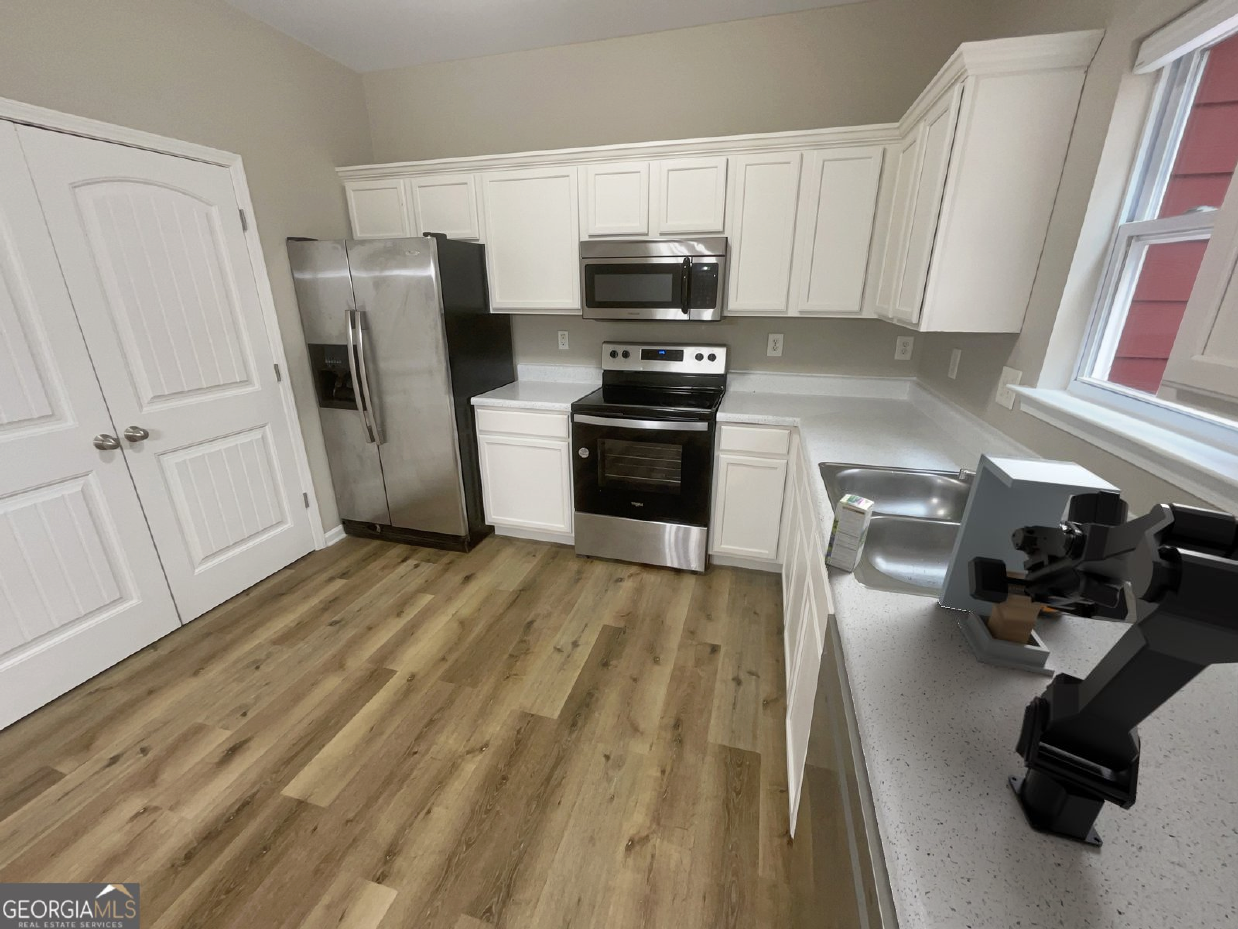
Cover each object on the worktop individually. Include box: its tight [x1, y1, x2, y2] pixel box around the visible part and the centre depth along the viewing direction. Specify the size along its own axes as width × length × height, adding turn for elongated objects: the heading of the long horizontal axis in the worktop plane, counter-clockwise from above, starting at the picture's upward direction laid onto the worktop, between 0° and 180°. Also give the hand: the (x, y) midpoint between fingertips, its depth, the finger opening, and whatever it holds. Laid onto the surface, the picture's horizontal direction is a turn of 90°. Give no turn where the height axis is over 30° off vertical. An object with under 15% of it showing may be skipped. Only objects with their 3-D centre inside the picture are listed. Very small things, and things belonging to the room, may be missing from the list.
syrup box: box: [824, 493, 875, 573], centre depth 103 cm, size 6×6×14 cm
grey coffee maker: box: [937, 452, 1122, 614], centre depth 81 cm, size 12×13×30 cm
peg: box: [986, 571, 1042, 645], centre depth 80 cm, size 4×4×12 cm
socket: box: [957, 610, 1056, 677], centre depth 82 cm, size 10×10×4 cm
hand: (1014, 598), depth 80 cm, fingers open, 9 cm apart
